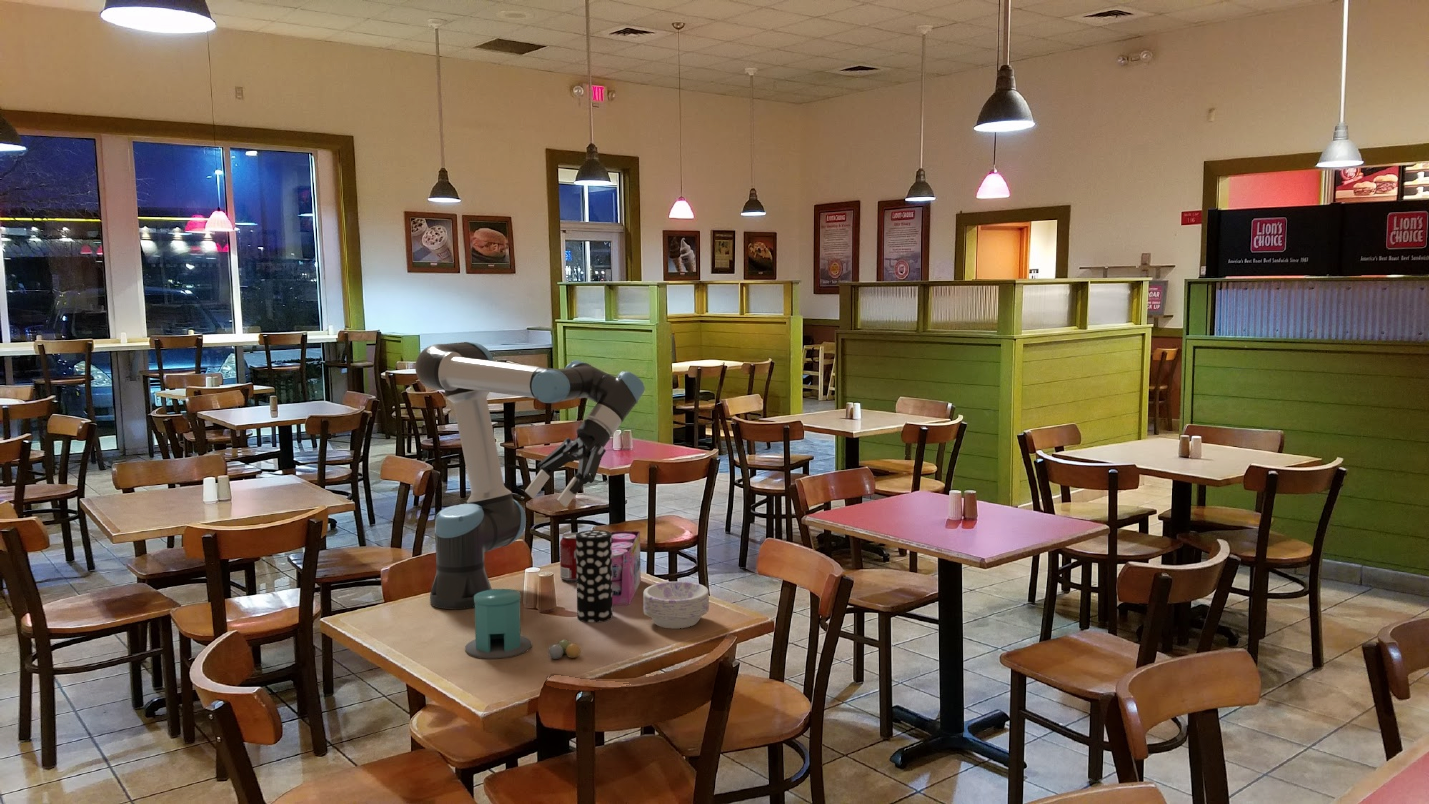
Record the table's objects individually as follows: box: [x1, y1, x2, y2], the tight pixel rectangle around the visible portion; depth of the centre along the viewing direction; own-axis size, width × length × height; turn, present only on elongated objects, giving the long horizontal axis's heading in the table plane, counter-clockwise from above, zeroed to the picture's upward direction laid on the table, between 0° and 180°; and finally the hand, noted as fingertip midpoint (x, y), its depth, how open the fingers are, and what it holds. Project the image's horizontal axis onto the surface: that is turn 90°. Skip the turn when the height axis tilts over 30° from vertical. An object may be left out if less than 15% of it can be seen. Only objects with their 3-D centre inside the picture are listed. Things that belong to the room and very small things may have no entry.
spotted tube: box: [576, 529, 614, 623], centre depth 243 cm, size 8×8×20 cm
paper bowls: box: [642, 581, 710, 630], centre depth 239 cm, size 15×15×8 cm
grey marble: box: [548, 643, 564, 660], centre depth 215 cm, size 3×3×3 cm
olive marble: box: [557, 639, 572, 655], centre depth 219 cm, size 3×3×3 cm
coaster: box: [464, 635, 532, 660], centre depth 222 cm, size 14×14×1 cm
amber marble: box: [565, 643, 581, 659], centre depth 216 cm, size 3×3×3 cm
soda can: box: [559, 532, 578, 582], centre depth 276 cm, size 7×7×12 cm
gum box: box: [610, 530, 642, 606], centre depth 263 cm, size 24×8×14 cm, turn 177°
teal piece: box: [474, 588, 522, 653], centre depth 222 cm, size 10×10×11 cm
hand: (544, 499), depth 234 cm, fingers open, 13 cm apart
